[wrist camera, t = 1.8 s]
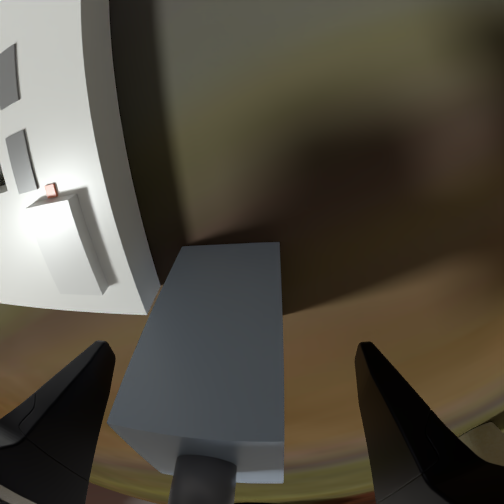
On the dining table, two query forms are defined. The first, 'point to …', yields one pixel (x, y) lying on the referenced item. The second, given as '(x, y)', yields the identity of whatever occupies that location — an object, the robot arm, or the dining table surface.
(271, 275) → the grey block with peg
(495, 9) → the dining table surface
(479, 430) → the plant pot
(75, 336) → the dining table surface
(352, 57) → the dining table surface
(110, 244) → the socket plate
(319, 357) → the dining table surface
